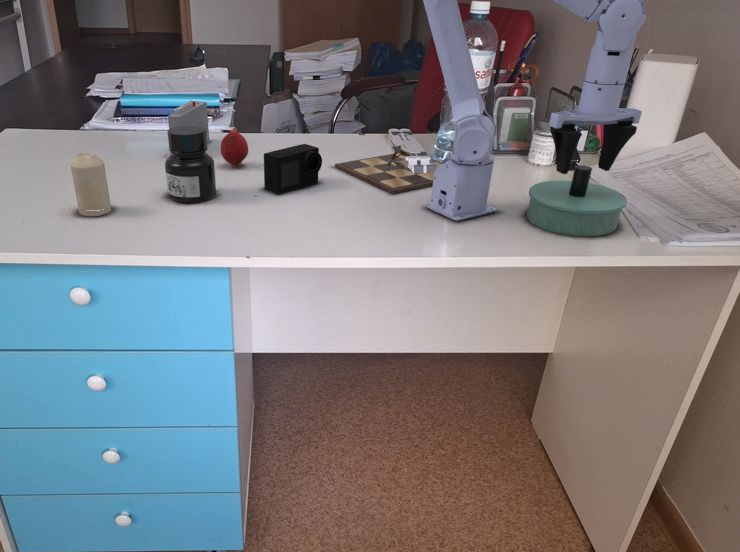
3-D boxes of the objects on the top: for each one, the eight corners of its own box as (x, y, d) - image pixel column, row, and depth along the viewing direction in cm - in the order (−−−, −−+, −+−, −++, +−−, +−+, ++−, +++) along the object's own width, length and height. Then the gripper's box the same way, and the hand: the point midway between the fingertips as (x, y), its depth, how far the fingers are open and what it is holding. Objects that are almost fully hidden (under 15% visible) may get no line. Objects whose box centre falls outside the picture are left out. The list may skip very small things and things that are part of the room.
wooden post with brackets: (383, 161, 133) (394, 141, 130) (418, 178, 133) (429, 159, 131) (383, 164, 131) (394, 143, 129) (418, 181, 132) (429, 161, 129)
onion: (244, 171, 133) (243, 131, 129) (218, 169, 134) (215, 130, 130) (251, 163, 138) (250, 124, 134) (226, 161, 139) (223, 123, 135)
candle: (117, 207, 115) (108, 151, 110) (100, 218, 111) (90, 160, 105) (91, 204, 117) (81, 148, 111) (73, 214, 112) (61, 157, 107)
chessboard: (392, 194, 121) (392, 190, 120) (334, 167, 135) (334, 163, 135) (472, 177, 129) (473, 173, 129) (409, 153, 144) (410, 150, 143)
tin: (576, 242, 101) (582, 218, 99) (509, 214, 111) (513, 192, 109) (634, 226, 107) (641, 202, 105) (566, 200, 117) (571, 179, 115)
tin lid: (559, 220, 100) (568, 185, 97) (511, 189, 112) (517, 157, 109) (645, 213, 102) (656, 178, 99) (589, 183, 115) (596, 152, 112)
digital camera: (282, 196, 120) (282, 158, 116) (264, 189, 123) (263, 152, 120) (322, 184, 126) (323, 148, 122) (304, 178, 129) (304, 142, 125)
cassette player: (198, 140, 154) (195, 96, 149) (209, 141, 153) (206, 97, 148) (172, 158, 141) (167, 111, 136) (183, 159, 141) (179, 111, 135)
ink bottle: (157, 195, 120) (149, 130, 114) (193, 184, 126) (188, 121, 119) (190, 208, 115) (184, 139, 108) (227, 195, 120) (223, 130, 114)
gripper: (629, 75, 102) (607, 160, 109) (546, 78, 99) (529, 166, 107) (660, 83, 96) (634, 173, 103) (573, 87, 93) (552, 179, 101)
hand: (582, 170), depth 105 cm, fingers open, 7 cm apart
